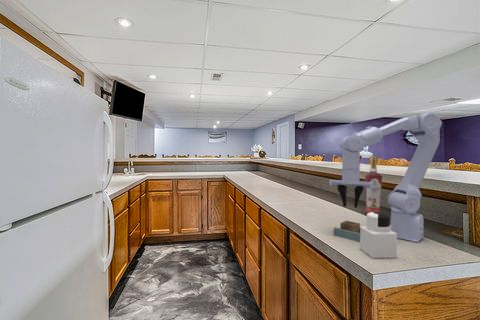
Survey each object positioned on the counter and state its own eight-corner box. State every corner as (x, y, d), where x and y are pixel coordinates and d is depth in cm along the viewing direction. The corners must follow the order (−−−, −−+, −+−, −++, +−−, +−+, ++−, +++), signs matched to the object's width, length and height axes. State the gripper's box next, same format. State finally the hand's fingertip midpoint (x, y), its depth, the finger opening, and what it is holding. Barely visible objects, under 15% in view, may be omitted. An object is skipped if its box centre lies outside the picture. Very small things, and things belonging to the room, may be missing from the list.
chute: (372, 236, 89) (372, 229, 89) (362, 242, 83) (362, 234, 83) (344, 230, 96) (344, 223, 96) (333, 234, 91) (333, 228, 91)
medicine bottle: (381, 248, 78) (382, 210, 77) (397, 258, 71) (397, 216, 70) (359, 248, 78) (360, 210, 77) (372, 258, 70) (373, 216, 70)
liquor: (365, 216, 117) (366, 156, 116) (362, 212, 124) (363, 156, 123) (383, 217, 115) (384, 157, 114) (379, 213, 122) (380, 156, 121)
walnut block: (359, 235, 90) (359, 223, 90) (354, 238, 87) (354, 225, 87) (346, 232, 94) (346, 220, 94) (340, 235, 91) (340, 222, 91)
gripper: (374, 169, 89) (374, 207, 89) (332, 167, 97) (332, 202, 97) (372, 170, 83) (372, 210, 84) (327, 168, 91) (327, 205, 92)
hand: (350, 206), depth 90 cm, fingers open, 3 cm apart
